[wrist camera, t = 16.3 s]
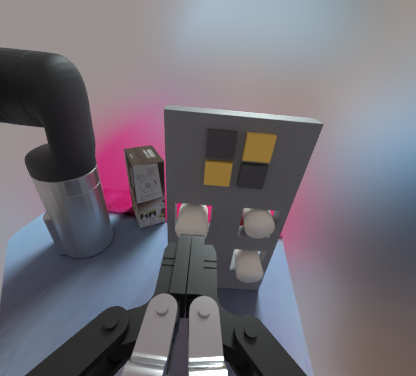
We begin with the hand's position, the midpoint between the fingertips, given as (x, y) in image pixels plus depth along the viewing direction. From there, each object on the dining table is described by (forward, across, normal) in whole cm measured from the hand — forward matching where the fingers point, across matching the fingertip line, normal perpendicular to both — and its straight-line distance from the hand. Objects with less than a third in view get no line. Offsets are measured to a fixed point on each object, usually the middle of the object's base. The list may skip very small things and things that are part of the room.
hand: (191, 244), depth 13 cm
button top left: (+12, 0, +11) cm, 16 cm away
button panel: (+16, -4, +25) cm, 30 cm away
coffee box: (+31, +12, +26) cm, 42 cm away
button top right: (+14, -9, +11) cm, 20 cm away
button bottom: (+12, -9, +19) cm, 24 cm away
